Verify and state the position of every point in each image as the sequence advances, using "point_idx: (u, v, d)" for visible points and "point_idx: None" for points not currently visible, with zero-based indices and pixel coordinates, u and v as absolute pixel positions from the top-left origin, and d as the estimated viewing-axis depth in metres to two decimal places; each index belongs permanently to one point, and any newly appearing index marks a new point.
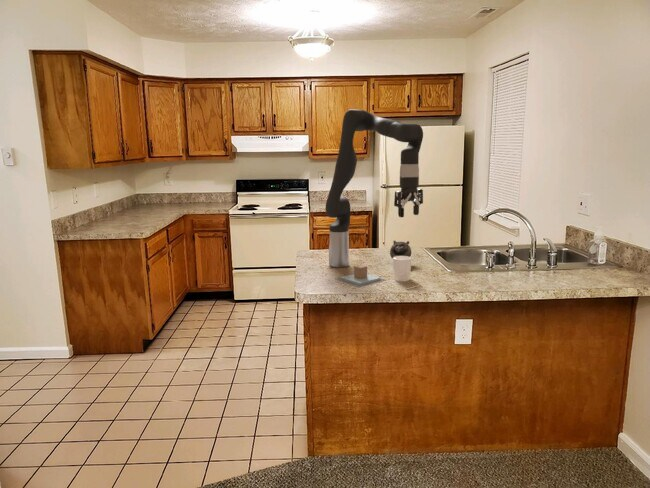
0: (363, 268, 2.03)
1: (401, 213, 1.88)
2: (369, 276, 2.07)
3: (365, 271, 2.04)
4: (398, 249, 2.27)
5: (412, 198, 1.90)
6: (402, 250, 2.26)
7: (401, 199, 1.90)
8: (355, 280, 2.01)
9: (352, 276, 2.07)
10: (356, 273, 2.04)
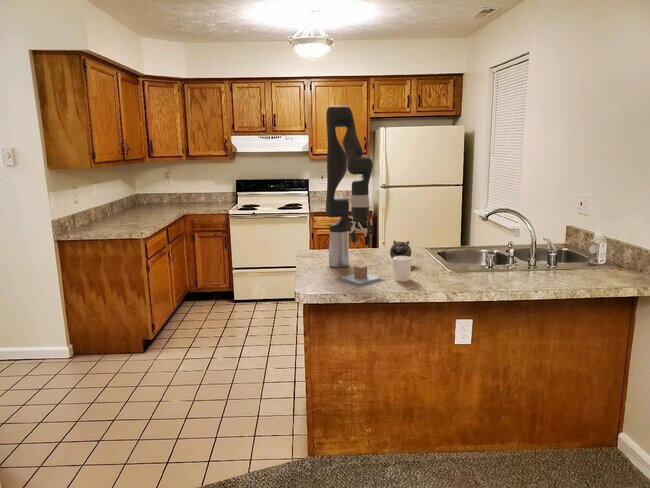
0: (363, 268, 2.03)
1: None
2: (369, 276, 2.07)
3: (365, 271, 2.04)
4: (398, 249, 2.27)
5: None
6: (402, 250, 2.26)
7: None
8: (355, 280, 2.01)
9: (352, 276, 2.07)
10: (356, 273, 2.04)
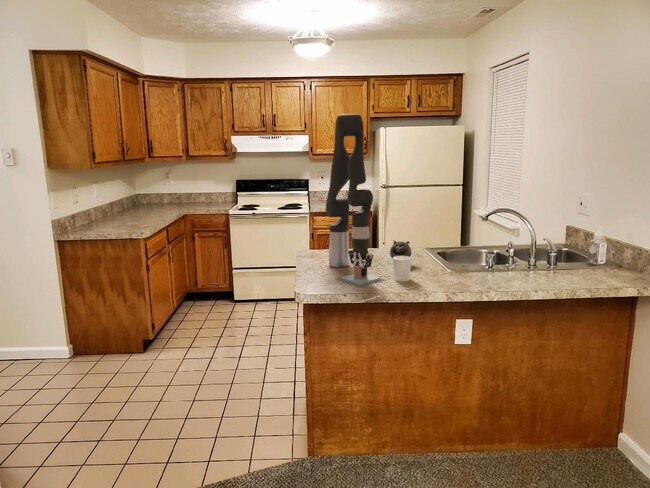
0: None
1: None
2: (369, 276, 2.07)
3: None
4: (398, 249, 2.27)
5: None
6: (402, 250, 2.26)
7: None
8: (355, 280, 2.01)
9: (352, 276, 2.07)
10: (356, 273, 2.04)
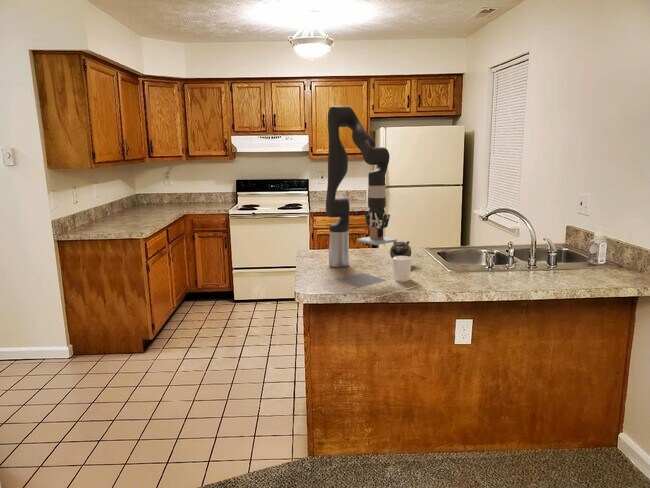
0: None
1: None
2: (385, 238, 2.03)
3: None
4: (398, 249, 2.27)
5: None
6: (402, 250, 2.26)
7: None
8: (371, 241, 1.97)
9: (368, 238, 2.03)
10: (372, 234, 2.00)
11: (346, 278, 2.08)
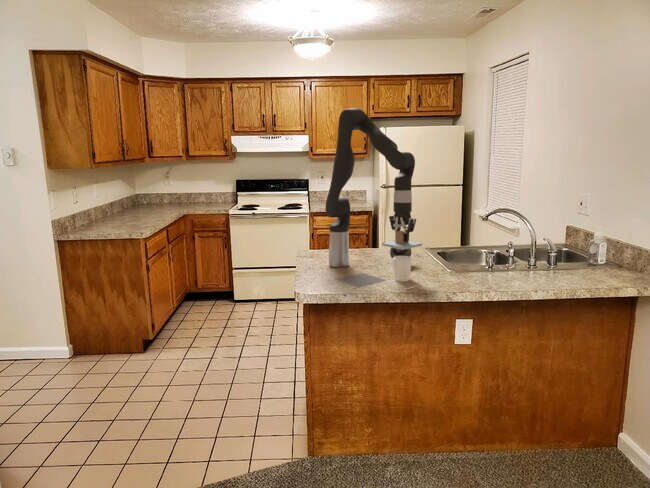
0: None
1: None
2: (410, 242, 2.03)
3: None
4: (398, 249, 2.27)
5: None
6: (402, 250, 2.26)
7: None
8: (397, 245, 1.98)
9: (393, 242, 2.04)
10: (398, 238, 2.01)
11: (346, 278, 2.08)
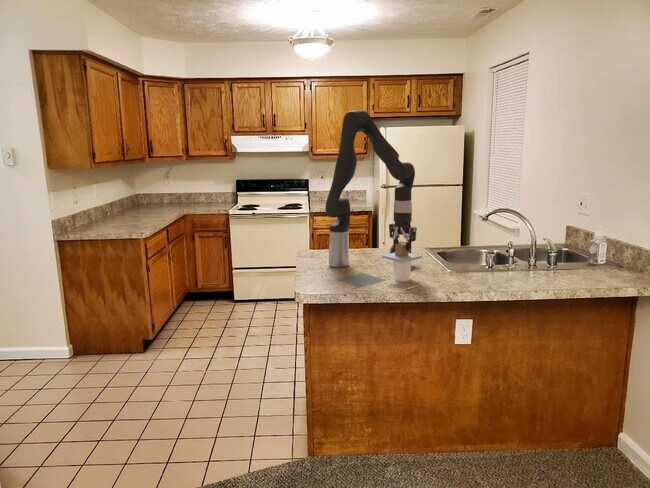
0: (405, 246, 2.01)
1: None
2: (410, 254, 2.05)
3: None
4: None
5: None
6: None
7: None
8: (397, 258, 1.99)
9: (393, 254, 2.05)
10: (397, 251, 2.02)
11: (346, 278, 2.08)
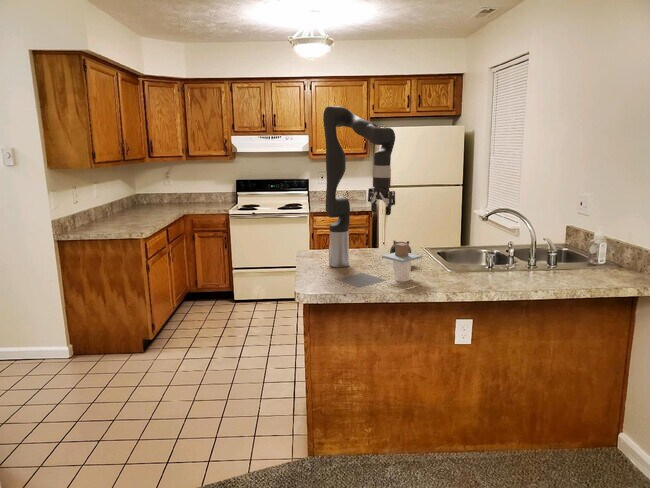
0: (405, 246, 2.01)
1: None
2: (410, 254, 2.05)
3: (406, 249, 2.02)
4: None
5: None
6: None
7: None
8: (397, 258, 1.99)
9: (393, 254, 2.05)
10: (397, 251, 2.02)
11: (346, 278, 2.08)
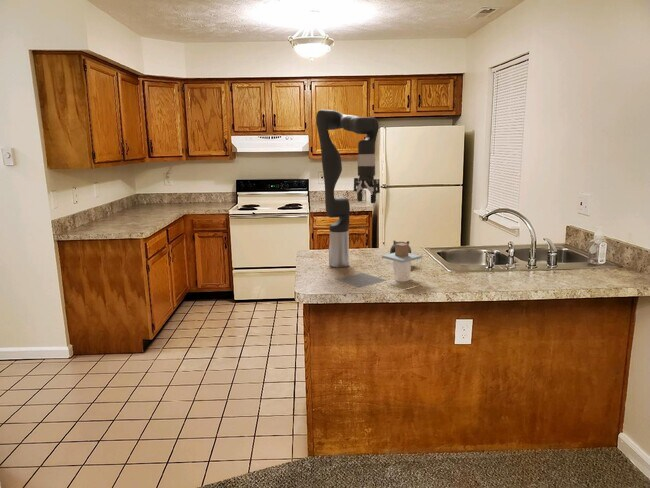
0: (405, 246, 2.01)
1: None
2: (410, 254, 2.05)
3: (406, 249, 2.02)
4: None
5: None
6: None
7: None
8: (397, 258, 1.99)
9: (393, 254, 2.05)
10: (397, 251, 2.02)
11: (346, 278, 2.08)
